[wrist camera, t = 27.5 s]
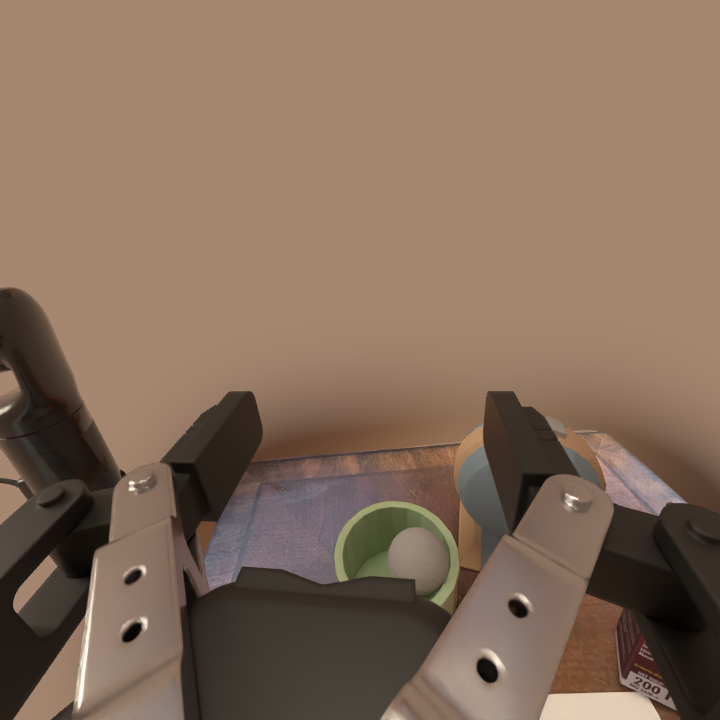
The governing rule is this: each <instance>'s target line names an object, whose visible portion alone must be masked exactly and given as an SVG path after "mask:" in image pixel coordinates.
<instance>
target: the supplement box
mask: <svg viewBox="0 0 720 720" xmlns="http://www.w3.org/2000/svg"><path fill="white" fill-rule="evenodd" d="M670 504H675V503H671V502H668V503H667V505H670ZM667 505H666V506H667ZM615 639H616V649H617V659H618V669H619V678H620V683H621V684H623V685H625V686H627V687H629V688H631V689H634V690H636V691H638V692H640V693H642V694H644V695H646V696H648V697H650V698H652V699H654V700H656V701H658V702H660V703H662V704H664V705H666V706H668V707H670V708H672V709H674V710H676V711H677V709H676V707H675V705H674V703H673V701H672V699H671V697H670V694H669V692H668V690H667V688H666V686H665V684H664V682H663V679H662V677H661V675H660V673H659V671H658V669H657V667H656V664H655V662H654V660H653V658H652V656H651V654H650V652H649V650H648V647H647V645H646V643H645V641H644V639H643V637H642V635H641V632H640V630H639V628H638V626H637V624H636V622H635V620H634V617H633V615H632V613H631V611H630V610H629V609H626V608H624V609H623V612H622V614H621V616H620V619H619V622H618V624H617V627H616V630H615Z"/></svg>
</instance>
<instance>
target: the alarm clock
mask: <svg viewBox="0 0 720 720" xmlns="http://www.w3.org/2000/svg"><path fill="white" fill-rule="evenodd" d="M544 417H545V418H546V420H547V421H548V423H549V425H550V426H551V428H552V431H554V433H555V435H556V436H557V438H558V441H560V443H561V445H562V447H563V448H564V450H565V452H566V453H567V455H568V457H569V458H570V460H571V462H572V463H573V465H574V467H575V468H576V470H577V472H578V473H579V475H580V477H581V478H584V479H586V480H588V481H590V482H592V483H594V484H596V485H597V486H598V487H600V488H601V489H602V490H603V491H604V492H605V489H606V483H605V479H604V476H603V473H602V469H601V467H600V465H599V463H598V460H597V458H596V456H595V453H594V452H593V451H592V449H591V448H590V447H589V445H588V444H587V443H586V441H585V440H584V439H582V438H581V437H580V436H578V435H577V434H576V433H574V432H573V431H571V430H570V429H568V428H567V427H566V426H564V424H563V422H562V421H560V420H557V419H554V418H552V417H548V416H544ZM483 425H484V422H483V423H481V424H479V425H478V426H477V427H476V428H474V429H473V430H472V431H471V432H470V433H469V434H468V436H467V437H466V438H465V439H464V440H463V442H462V443H461V445H460V446H459V448H458V450H457V454H456V458H455V463H454V483H455V489H456V491H457V493H458V495H459V497H460V515H459V538H458V554H459V566H460V567H461V568H466V569H470V570H475V571H479V572H481V570H482V569H483V567H484V566H485V564H486V562H487V561H488V559H489V558H490V556H491V554H492V553H493V551H494V550H495V548H496V547H497V545H498V543H499V542H500V540H501V539H502V537H503V536H504V535H505V534H506V533H509V530H508V526H507V523H506V520H505V516H504V513H503V509H502V506H501V503H500V499H499V496H498V493H497V489H496V486H495V483H494V479H493V476H492V473H491V469H490V466H489V462H488V459H487V456H486V452H485V449H484V444H483ZM509 534H510V533H509Z"/></svg>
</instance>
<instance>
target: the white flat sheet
mask: <svg viewBox="0 0 720 720" xmlns="http://www.w3.org/2000/svg"><path fill="white" fill-rule="evenodd" d="M539 720H661V719H660V717H659V715H658V713H657V712H656V710H655V708H654V706H653V704H652V703H651V701H650V699H649V697H648V696H646V695H644V694H642V693H640V692H610V693H574V694H548V697H547V700H546V703H545V705H544V708H543V711H542V714H541V716H540V719H539Z"/></svg>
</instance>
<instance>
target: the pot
mask: <svg viewBox="0 0 720 720" xmlns="http://www.w3.org/2000/svg"><path fill="white" fill-rule="evenodd" d="M412 527H421V528H424V529H427V530H429V531H431V532H432V533H434V534H435V535H436V536H437V537H438V538H439V539H440V540H441V542H442V543H443V545H444V547H445V550H446V552H447V556H448V574H447V577H446V579H445V581H444V583H443V585H442V586H441V588H440V589H439V590H438V591H436V592H435V593H433V594H431V595H429V596H426V597H424V598H426V599H428V600H430V601H432V602H434V603H436V604H437V605H439V606H440V607H442V608H443V609H445V610H446V611H448V612H449V613H450V614H451V615H452V616H453V615H454V613H455V612H456V605H457V593H458V581H459V570H460V566H459V554H458V548H457V546H456V543H455V541H454V539H453V536H452V534H451V532H450V531H449V529H448V528H447V527H446V526H445V525H444V523H443V522H442V521H441V520H440V519H439V518H438V517H437V516H435V515H434V514H433V513H431V512H430V511H428V510H427V509H425V508H423V507H420V506H417V505H414V504H412V503H409V502H399V501H387V502H381V503H375V504H373V505H371V506H369V507H367V508H365V509H362V510H360V511H359V512H358V513H357V514H356V515H355V516H353V517H352V518H351V519H350V520H349V521H348V522H347V523H346V525H345V526H344V528H343V530H342V531H341V533H340V534H339V536H338V540H337V544H336V548H335V552H334V560H335V572H336V578H337V582H342V581H347V580H352V579H357V578H362V577H368V576H378V577H391V574H390V572H389V568H388V551H389V548H390V545H391V543H392V541H393V539H394V538H395V537H396V535H398V534H399V533H400V532H402V531H403V530H405V529H408V528H412Z"/></svg>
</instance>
